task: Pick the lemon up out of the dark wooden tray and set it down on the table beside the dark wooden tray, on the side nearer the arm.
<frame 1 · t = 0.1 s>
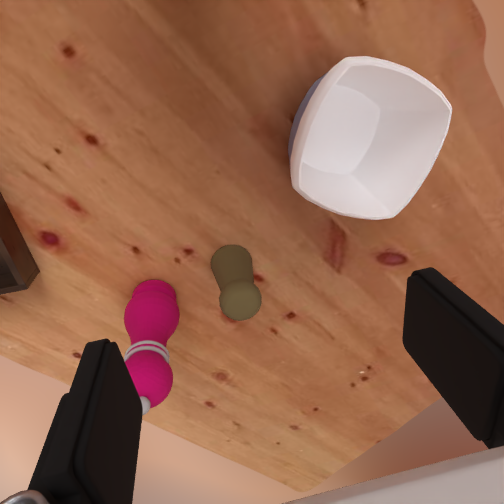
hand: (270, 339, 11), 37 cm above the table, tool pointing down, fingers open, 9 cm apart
bowl: (333, 130, 46), on the table
pepper mill: (154, 296, 53), on the table
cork: (231, 262, 52), on the table
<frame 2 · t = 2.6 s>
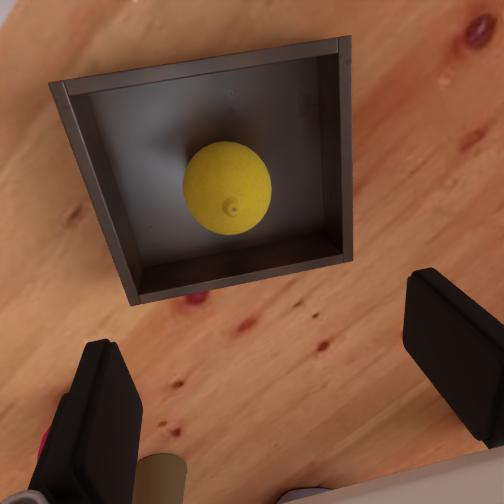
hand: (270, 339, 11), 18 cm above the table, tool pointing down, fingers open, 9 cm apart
lemon: (221, 171, 26), resting on dark wooden tray
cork: (160, 469, 41), on the table
dark wooden tray: (221, 170, 27), on the table
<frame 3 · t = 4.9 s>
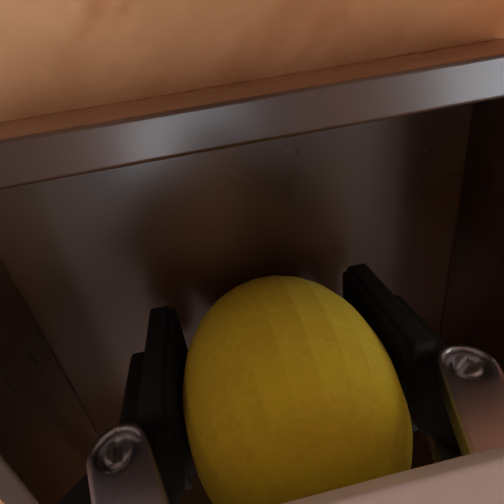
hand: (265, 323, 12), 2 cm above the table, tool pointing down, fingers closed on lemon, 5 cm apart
lemon: (258, 299, 13), resting on dark wooden tray, touching gripper
dark wooden tray: (258, 297, 13), on the table
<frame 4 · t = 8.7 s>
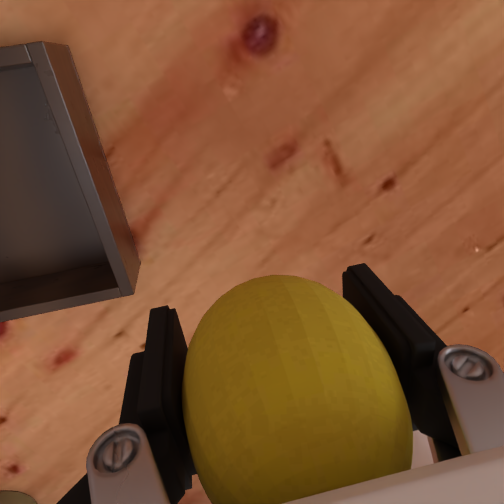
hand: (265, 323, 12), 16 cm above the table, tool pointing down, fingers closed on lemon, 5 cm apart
lemon: (258, 298, 13), point 14 cm above the table, touching gripper
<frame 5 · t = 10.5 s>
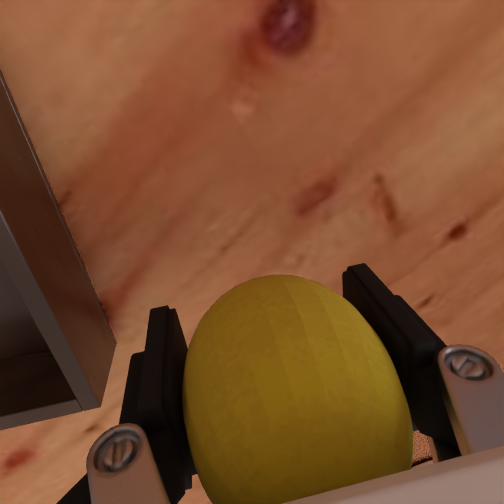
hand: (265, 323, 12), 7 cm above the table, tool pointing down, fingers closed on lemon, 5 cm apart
lemon: (258, 298, 13), point 6 cm above the table, touching gripper
when the fingers open (1 cm above the table, at t = 12.3 s): lemon stays where it is, on the table.
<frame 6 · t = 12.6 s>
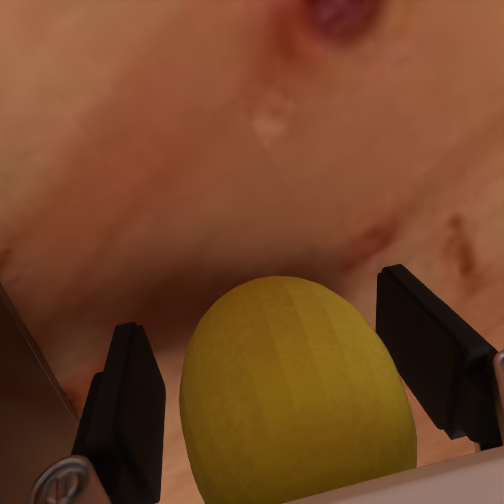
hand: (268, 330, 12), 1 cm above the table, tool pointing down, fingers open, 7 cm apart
lemon: (258, 299, 13), on the table
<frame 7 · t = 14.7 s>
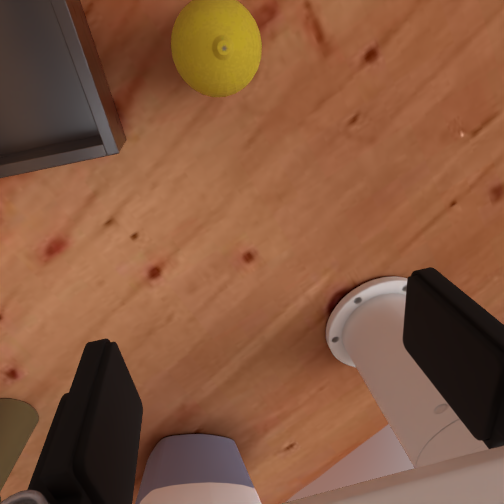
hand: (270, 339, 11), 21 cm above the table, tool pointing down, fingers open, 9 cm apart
bowl: (190, 458, 48), on the table
lemon: (210, 49, 26), on the table
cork: (7, 416, 39), on the table
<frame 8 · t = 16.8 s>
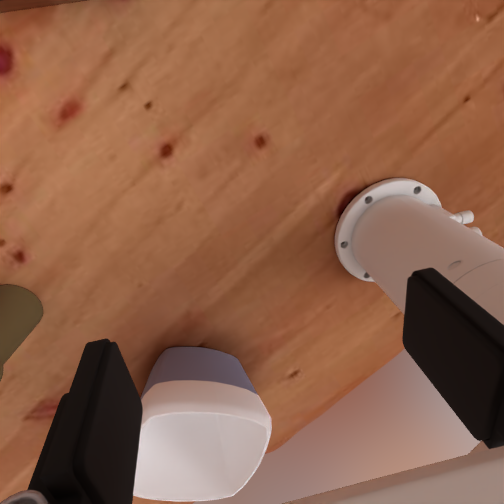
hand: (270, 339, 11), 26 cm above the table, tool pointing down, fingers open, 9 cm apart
bowl: (193, 377, 47), on the table
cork: (12, 307, 38), on the table
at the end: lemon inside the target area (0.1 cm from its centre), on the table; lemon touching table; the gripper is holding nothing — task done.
